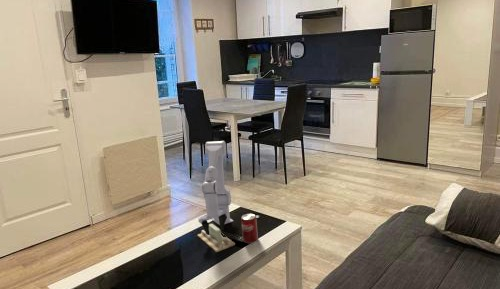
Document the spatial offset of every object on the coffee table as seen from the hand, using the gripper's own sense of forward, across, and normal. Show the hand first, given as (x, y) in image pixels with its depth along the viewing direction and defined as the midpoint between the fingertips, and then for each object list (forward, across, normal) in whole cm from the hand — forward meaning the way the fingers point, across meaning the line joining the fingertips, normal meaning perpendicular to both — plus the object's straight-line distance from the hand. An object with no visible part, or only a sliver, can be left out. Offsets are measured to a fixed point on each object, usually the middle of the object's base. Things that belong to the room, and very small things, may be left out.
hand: (214, 232), depth 176 cm
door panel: (+4, 0, 0) cm, 4 cm away
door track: (+4, 0, 0) cm, 4 cm away
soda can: (+5, +13, -11) cm, 18 cm away
